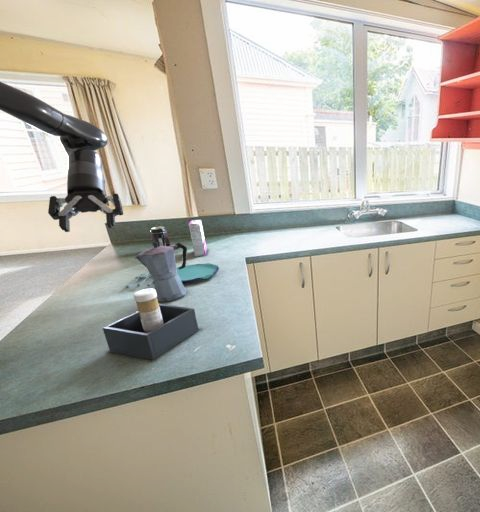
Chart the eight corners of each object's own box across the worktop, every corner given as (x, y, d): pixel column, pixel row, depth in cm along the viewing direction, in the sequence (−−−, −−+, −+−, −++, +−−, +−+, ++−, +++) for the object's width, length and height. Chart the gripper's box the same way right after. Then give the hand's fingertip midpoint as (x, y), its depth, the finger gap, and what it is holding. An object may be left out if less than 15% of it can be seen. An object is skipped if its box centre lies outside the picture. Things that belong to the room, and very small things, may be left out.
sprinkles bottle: (150, 333, 81) (138, 288, 76) (169, 331, 82) (158, 286, 78) (142, 343, 76) (128, 296, 72) (162, 340, 78) (150, 294, 73)
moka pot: (140, 301, 100) (124, 245, 94) (185, 285, 113) (174, 234, 107) (156, 307, 96) (141, 249, 90) (202, 290, 109) (191, 237, 103)
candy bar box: (196, 250, 156) (190, 220, 151) (207, 249, 158) (201, 219, 153) (194, 256, 146) (187, 224, 141) (205, 255, 148) (199, 223, 143)
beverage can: (167, 251, 155) (162, 228, 151) (152, 252, 153) (147, 229, 149) (173, 247, 161) (168, 226, 157) (158, 248, 159) (153, 226, 156)
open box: (153, 359, 71) (146, 335, 69) (109, 351, 74) (102, 328, 72) (198, 329, 84) (194, 308, 82) (160, 323, 87) (154, 303, 85)
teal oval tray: (215, 282, 116) (214, 276, 116) (122, 292, 107) (120, 286, 106) (223, 265, 134) (222, 261, 134) (144, 273, 125) (143, 268, 124)
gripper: (43, 172, 77) (42, 223, 71) (115, 171, 84) (119, 217, 79) (57, 191, 83) (57, 239, 77) (122, 189, 90) (127, 232, 85)
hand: (88, 228), depth 78 cm, fingers open, 8 cm apart
